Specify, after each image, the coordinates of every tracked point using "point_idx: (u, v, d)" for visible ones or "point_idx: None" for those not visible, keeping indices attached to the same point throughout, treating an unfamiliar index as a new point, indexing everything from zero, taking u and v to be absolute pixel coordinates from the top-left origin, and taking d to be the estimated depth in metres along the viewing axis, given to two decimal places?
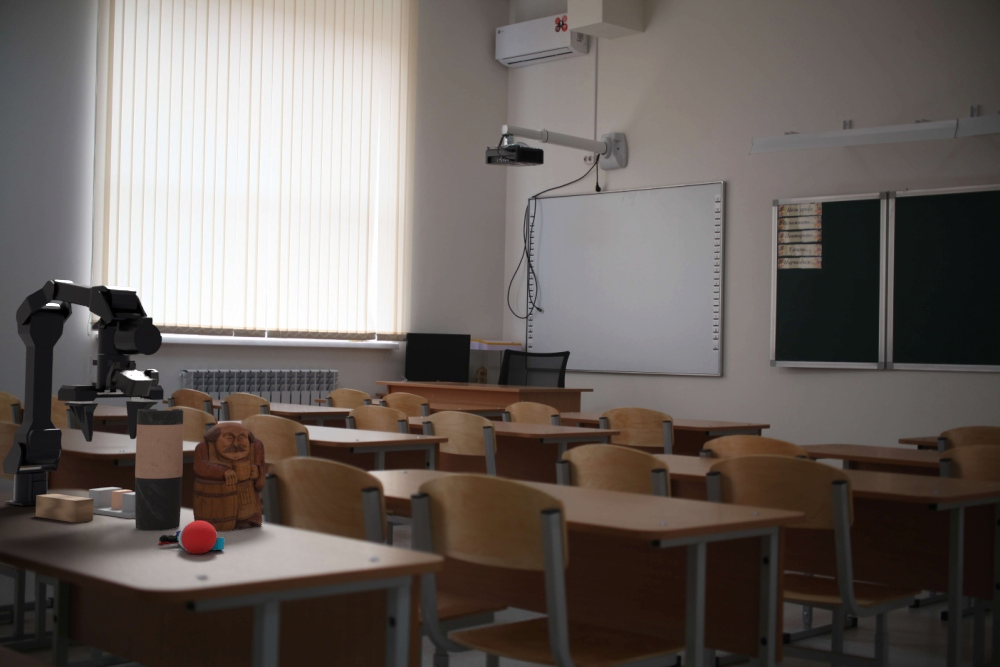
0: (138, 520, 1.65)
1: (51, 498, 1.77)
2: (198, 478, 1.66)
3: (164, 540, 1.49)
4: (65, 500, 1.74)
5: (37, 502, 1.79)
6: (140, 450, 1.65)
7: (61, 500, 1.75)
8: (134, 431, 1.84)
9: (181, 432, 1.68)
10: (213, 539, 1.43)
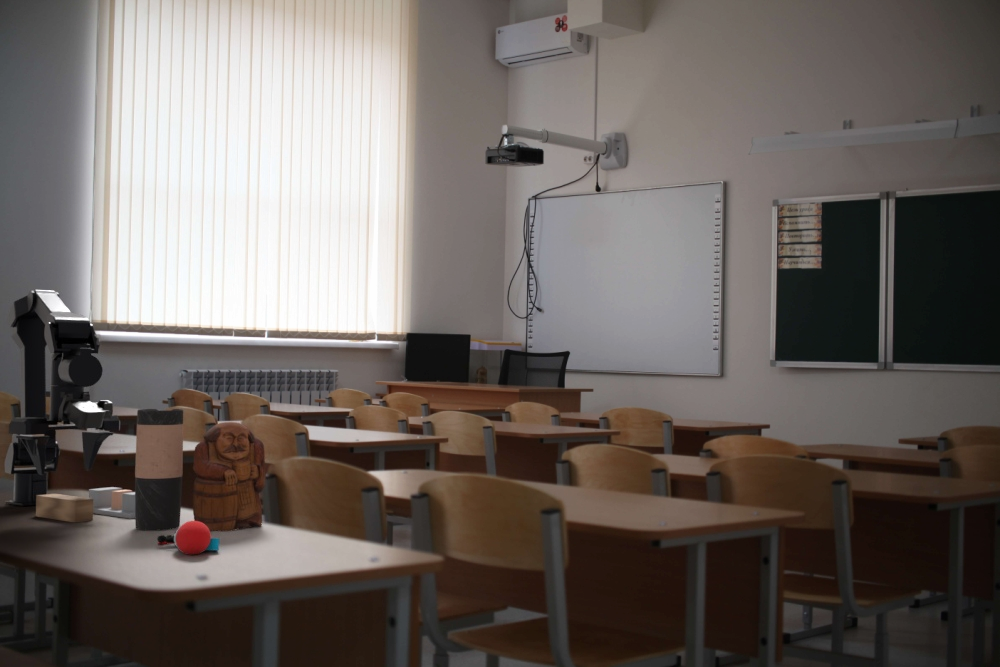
0: (138, 520, 1.65)
1: (51, 498, 1.77)
2: (198, 478, 1.66)
3: (162, 540, 1.49)
4: (65, 500, 1.74)
5: (37, 502, 1.79)
6: (140, 450, 1.65)
7: (61, 500, 1.75)
8: (89, 463, 1.81)
9: (181, 432, 1.68)
10: (206, 539, 1.42)
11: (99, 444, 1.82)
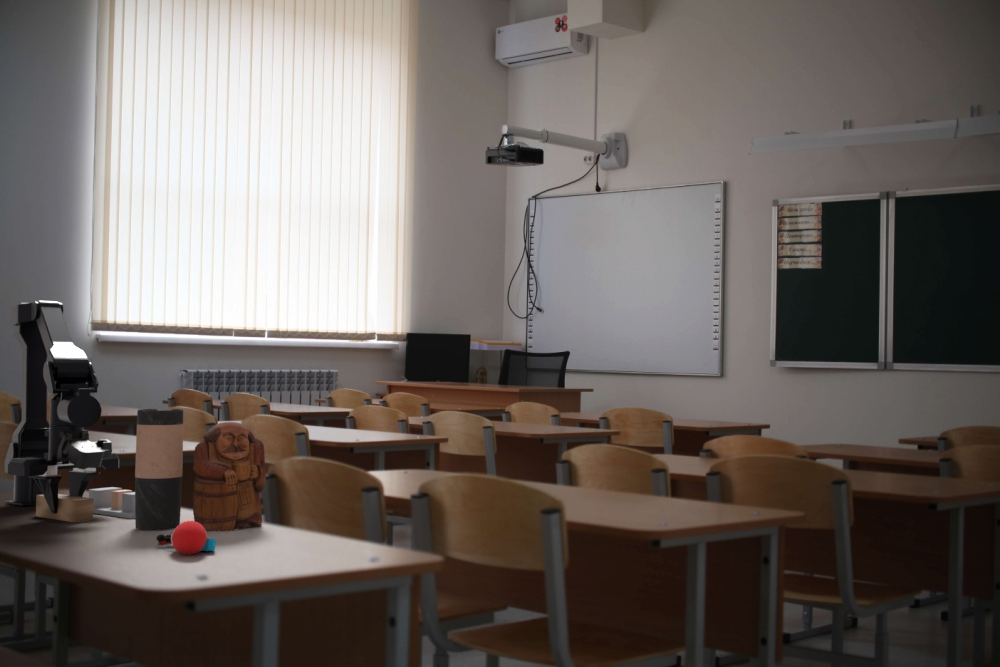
0: (138, 520, 1.65)
1: None
2: (198, 478, 1.66)
3: (160, 539, 1.49)
4: (65, 500, 1.74)
5: (37, 502, 1.79)
6: (140, 450, 1.65)
7: (61, 500, 1.75)
8: None
9: (181, 432, 1.68)
10: (200, 540, 1.42)
11: (85, 484, 1.80)
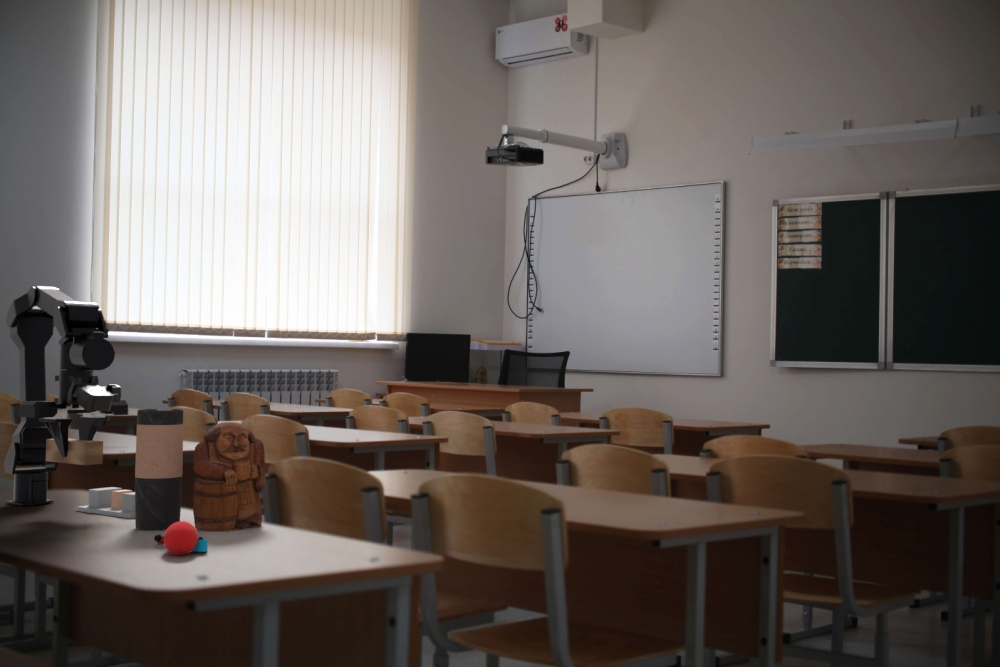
0: (138, 520, 1.65)
1: None
2: (198, 478, 1.66)
3: (157, 539, 1.49)
4: (75, 442, 1.76)
5: (47, 446, 1.81)
6: (140, 450, 1.65)
7: (71, 442, 1.77)
8: None
9: (181, 432, 1.68)
10: (189, 541, 1.41)
11: (95, 429, 1.81)
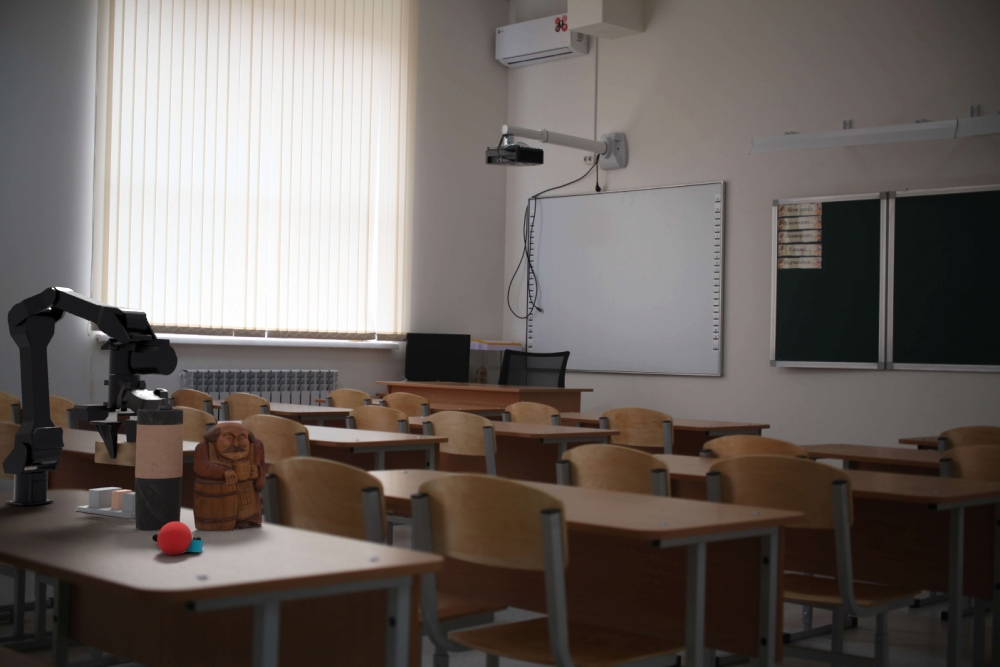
0: (138, 520, 1.65)
1: None
2: (198, 478, 1.66)
3: (155, 539, 1.50)
4: (125, 444, 1.83)
5: (96, 447, 1.87)
6: (140, 450, 1.65)
7: (121, 444, 1.83)
8: None
9: (181, 432, 1.68)
10: (180, 541, 1.41)
11: None
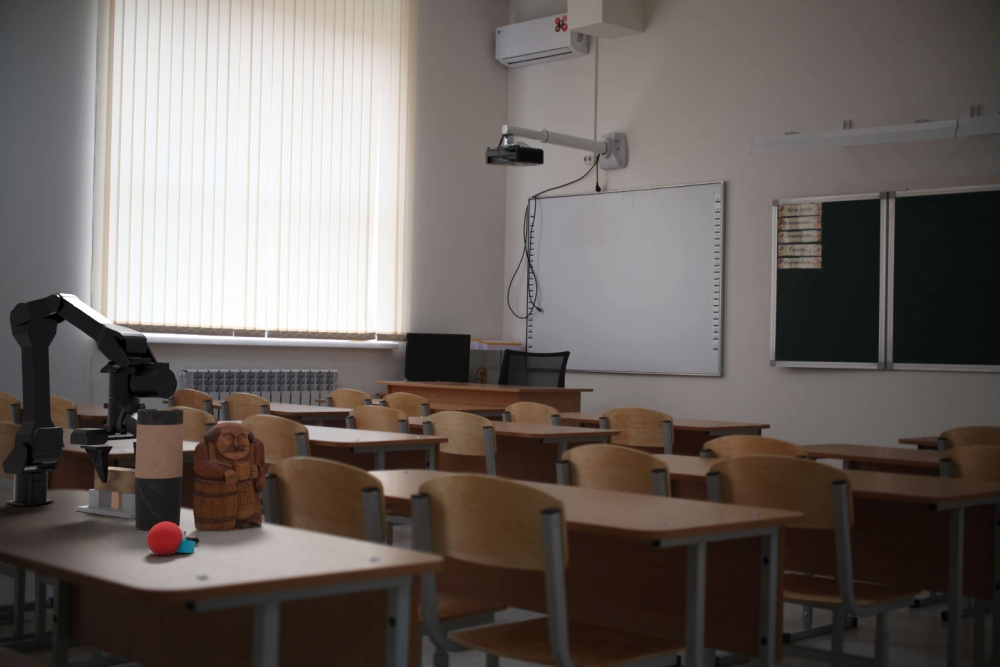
0: (138, 520, 1.65)
1: (110, 470, 1.85)
2: (198, 478, 1.66)
3: None
4: (124, 472, 1.82)
5: (96, 474, 1.87)
6: (140, 450, 1.65)
7: (120, 472, 1.83)
8: None
9: (181, 432, 1.68)
10: (167, 541, 1.41)
11: None
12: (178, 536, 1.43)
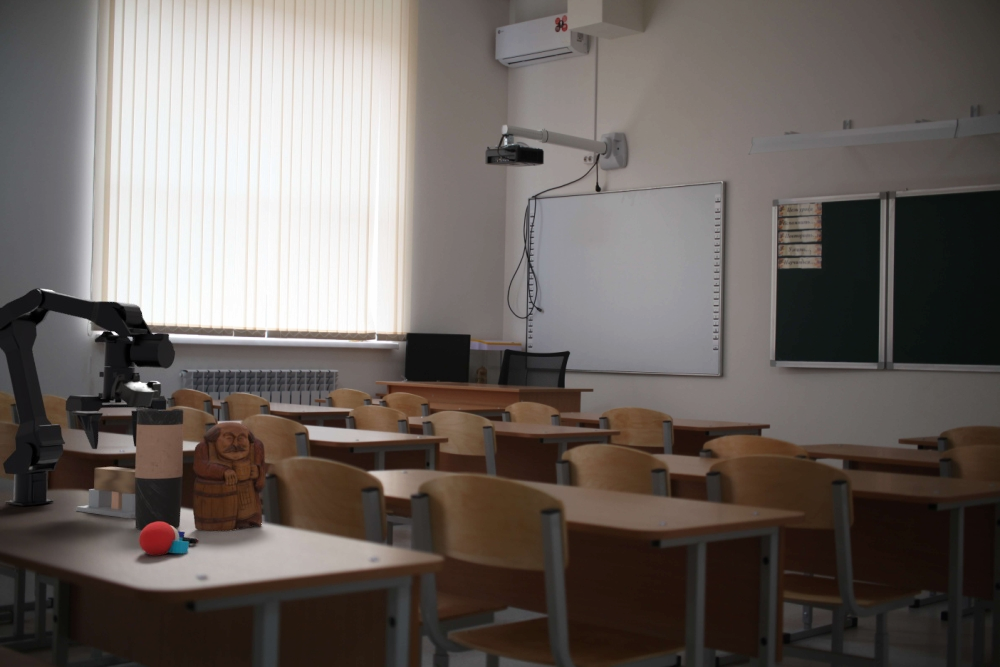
0: (138, 520, 1.65)
1: (110, 470, 1.85)
2: (198, 478, 1.66)
3: None
4: (124, 472, 1.82)
5: (96, 474, 1.87)
6: (140, 450, 1.65)
7: (120, 472, 1.83)
8: None
9: (181, 432, 1.68)
10: (156, 541, 1.40)
11: None
12: (169, 536, 1.43)
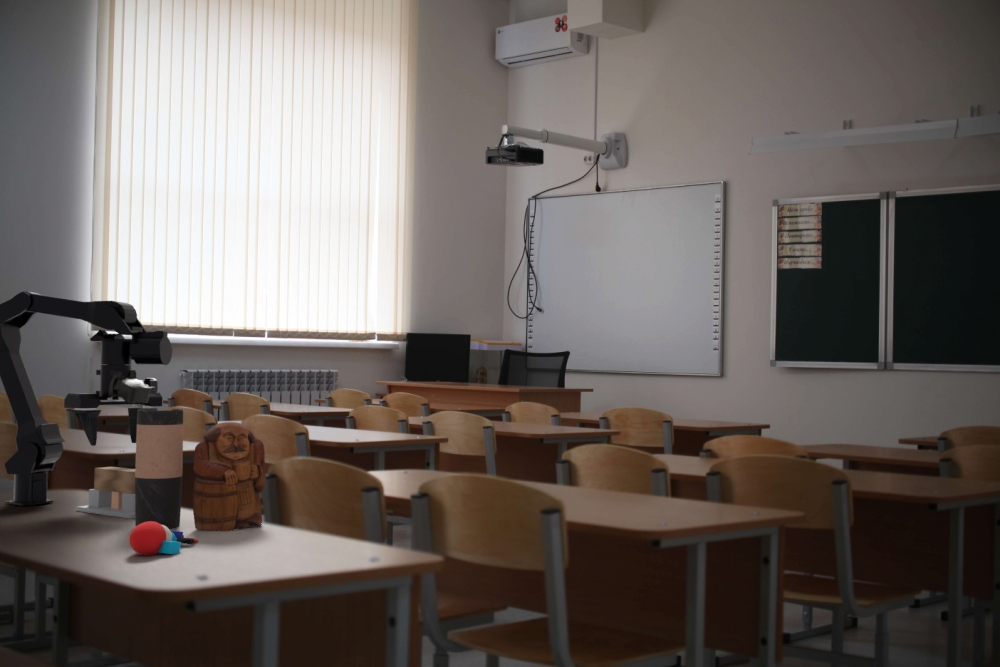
0: (138, 520, 1.65)
1: (110, 470, 1.85)
2: (198, 478, 1.66)
3: None
4: (124, 472, 1.82)
5: (96, 474, 1.87)
6: (140, 450, 1.65)
7: (120, 472, 1.83)
8: (135, 436, 1.98)
9: (181, 432, 1.68)
10: (144, 541, 1.40)
11: None
12: (159, 536, 1.43)
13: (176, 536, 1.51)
